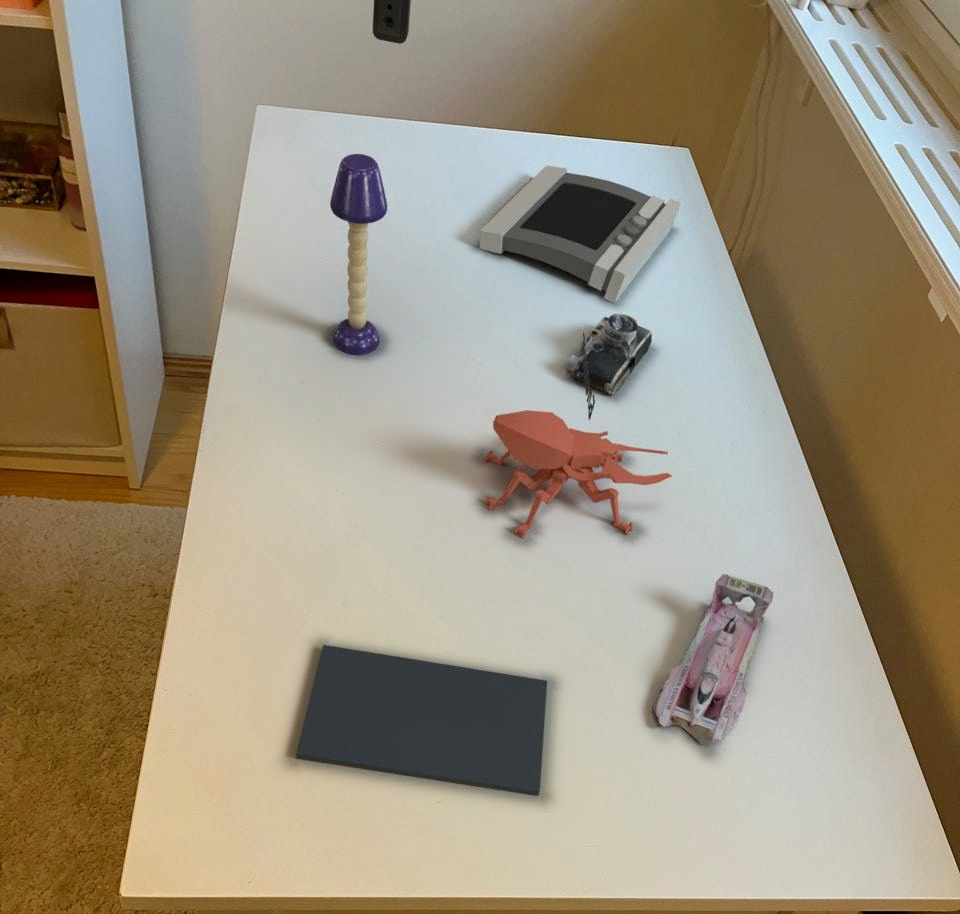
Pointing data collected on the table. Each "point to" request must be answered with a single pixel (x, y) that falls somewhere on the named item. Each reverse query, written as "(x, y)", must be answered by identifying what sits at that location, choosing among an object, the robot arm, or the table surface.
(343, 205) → the toy lamp
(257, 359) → the table surface
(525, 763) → the mat
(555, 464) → the beetle
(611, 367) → the camera
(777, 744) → the table surface
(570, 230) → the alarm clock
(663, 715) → the boxed toy car
